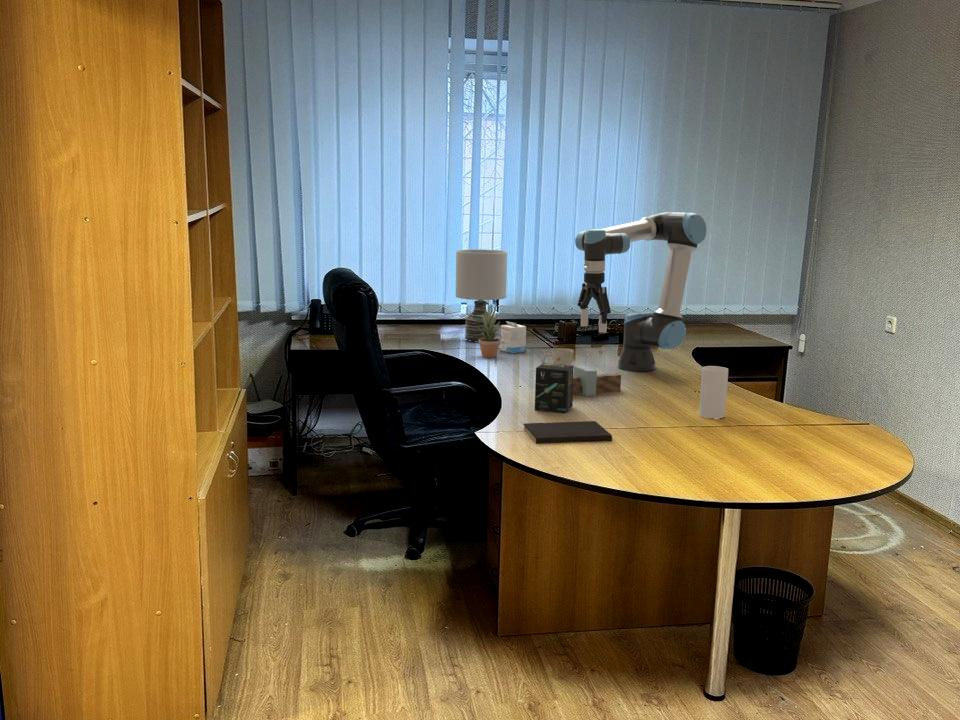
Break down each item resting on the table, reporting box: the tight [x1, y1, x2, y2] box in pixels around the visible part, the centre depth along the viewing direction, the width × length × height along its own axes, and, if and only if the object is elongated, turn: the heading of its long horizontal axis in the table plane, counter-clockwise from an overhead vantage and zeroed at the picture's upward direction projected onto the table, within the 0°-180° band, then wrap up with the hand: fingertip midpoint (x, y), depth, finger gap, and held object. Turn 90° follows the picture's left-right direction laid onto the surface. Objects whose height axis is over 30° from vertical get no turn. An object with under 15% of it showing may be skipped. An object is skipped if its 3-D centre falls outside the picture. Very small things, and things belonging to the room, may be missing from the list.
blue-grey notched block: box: [573, 364, 598, 397], centre depth 319 cm, size 4×10×9 cm, turn 21°
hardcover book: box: [522, 420, 613, 445], centre depth 265 cm, size 16×23×2 cm
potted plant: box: [477, 300, 501, 358], centre depth 382 cm, size 10×10×25 cm
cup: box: [698, 365, 729, 419], centre depth 289 cm, size 8×8×16 cm
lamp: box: [455, 248, 508, 341], centre depth 420 cm, size 24×24×42 cm
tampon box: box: [534, 362, 575, 414], centre depth 295 cm, size 11×9×15 cm
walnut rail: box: [573, 372, 622, 396], centre depth 320 cm, size 28×3×6 cm, turn 111°
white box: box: [500, 320, 527, 354], centre depth 396 cm, size 9×8×13 cm
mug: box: [541, 347, 575, 365], centre depth 349 cm, size 8×13×10 cm, turn 78°
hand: (593, 329), depth 328 cm, fingers open, 13 cm apart
